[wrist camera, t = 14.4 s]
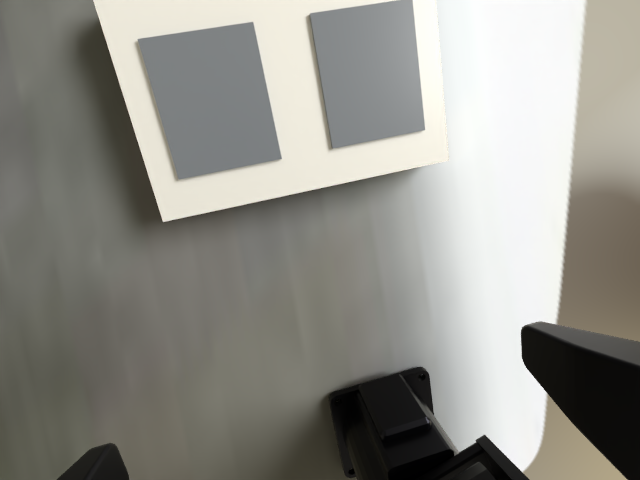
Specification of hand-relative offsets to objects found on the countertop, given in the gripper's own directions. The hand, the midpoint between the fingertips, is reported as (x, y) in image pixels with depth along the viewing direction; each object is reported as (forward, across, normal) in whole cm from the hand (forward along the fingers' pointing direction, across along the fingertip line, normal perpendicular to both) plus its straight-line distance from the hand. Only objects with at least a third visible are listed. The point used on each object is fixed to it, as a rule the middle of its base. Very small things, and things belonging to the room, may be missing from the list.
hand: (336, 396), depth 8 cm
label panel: (+13, -2, -7) cm, 15 cm away
